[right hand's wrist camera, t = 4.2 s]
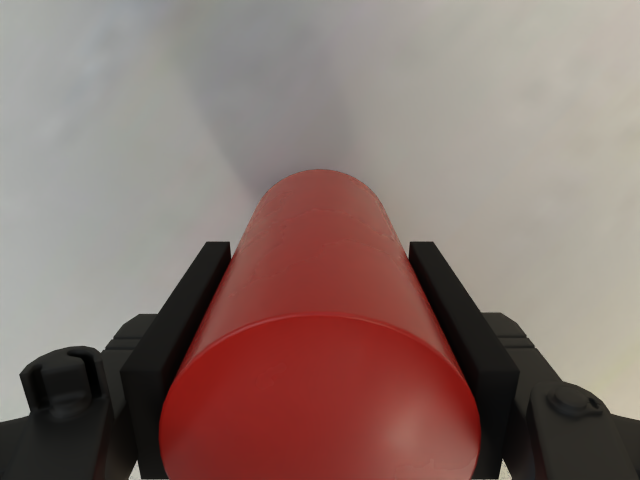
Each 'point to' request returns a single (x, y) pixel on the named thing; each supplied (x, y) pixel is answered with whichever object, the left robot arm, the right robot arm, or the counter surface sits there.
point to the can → (319, 354)
